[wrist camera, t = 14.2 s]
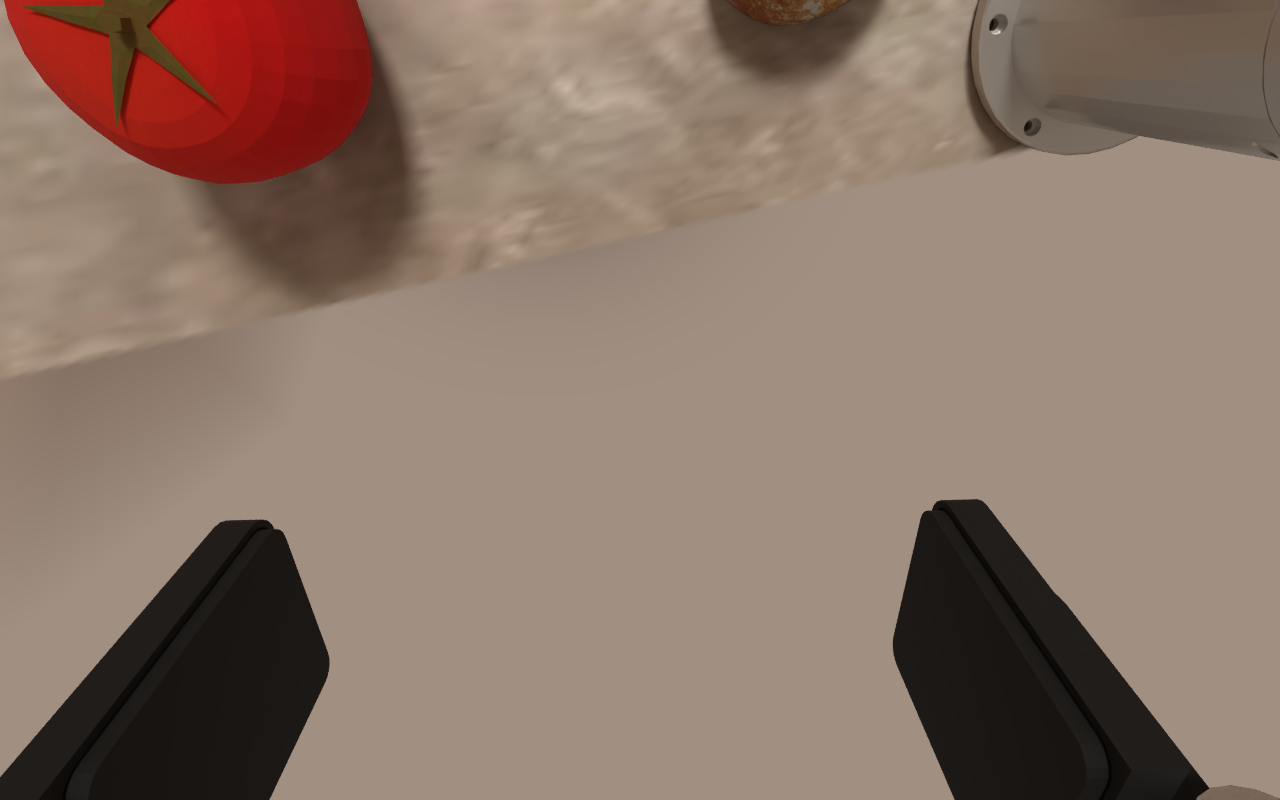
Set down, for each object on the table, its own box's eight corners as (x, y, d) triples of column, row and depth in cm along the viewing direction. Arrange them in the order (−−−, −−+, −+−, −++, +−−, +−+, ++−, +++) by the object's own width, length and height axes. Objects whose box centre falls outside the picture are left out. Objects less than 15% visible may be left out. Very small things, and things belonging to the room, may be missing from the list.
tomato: (439, -22, 31) (336, -57, 20) (367, 199, 36) (252, 266, 25) (167, -181, 28) (-126, -323, 17) (129, 82, 33) (-119, 101, 22)
